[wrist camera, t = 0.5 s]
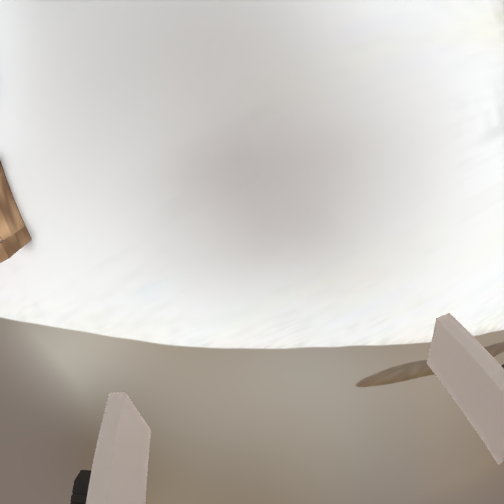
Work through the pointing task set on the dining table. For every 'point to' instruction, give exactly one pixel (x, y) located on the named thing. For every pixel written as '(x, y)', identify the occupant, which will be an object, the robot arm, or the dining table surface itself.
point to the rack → (10, 222)
